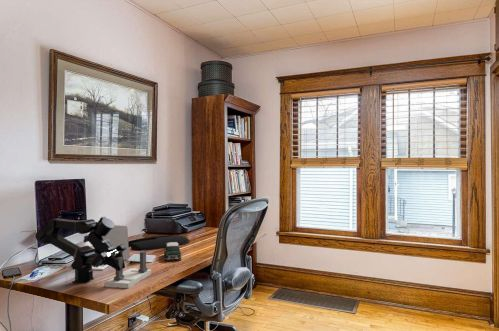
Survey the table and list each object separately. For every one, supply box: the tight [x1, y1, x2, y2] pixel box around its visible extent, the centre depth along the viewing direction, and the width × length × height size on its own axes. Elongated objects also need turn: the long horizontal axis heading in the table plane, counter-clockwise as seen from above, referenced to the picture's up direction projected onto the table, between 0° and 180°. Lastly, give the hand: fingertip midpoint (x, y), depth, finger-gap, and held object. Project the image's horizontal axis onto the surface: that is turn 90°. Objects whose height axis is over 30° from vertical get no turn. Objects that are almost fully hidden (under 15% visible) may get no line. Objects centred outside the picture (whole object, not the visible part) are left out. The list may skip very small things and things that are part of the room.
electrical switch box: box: [103, 224, 130, 261], centre depth 184 cm, size 15×15×20 cm
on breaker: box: [138, 250, 149, 272], centre depth 155 cm, size 3×4×9 cm
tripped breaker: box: [114, 257, 124, 280], centre depth 144 cm, size 3×4×9 cm
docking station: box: [128, 234, 190, 252], centre depth 222 cm, size 25×41×5 cm, turn 124°
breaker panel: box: [104, 268, 152, 289], centre depth 149 cm, size 11×20×2 cm, turn 170°
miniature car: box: [163, 242, 182, 262], centre depth 188 cm, size 9×18×8 cm, turn 15°
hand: (122, 269), depth 144 cm, fingers closed on tripped breaker, 3 cm apart
